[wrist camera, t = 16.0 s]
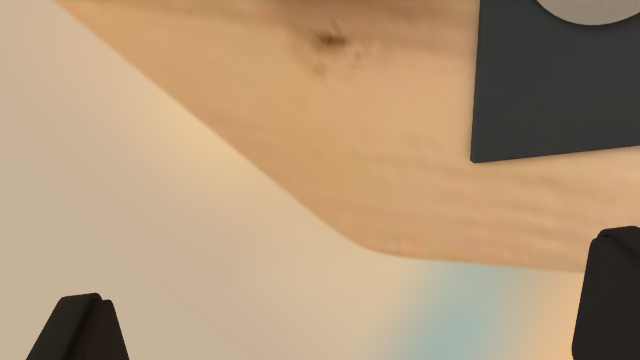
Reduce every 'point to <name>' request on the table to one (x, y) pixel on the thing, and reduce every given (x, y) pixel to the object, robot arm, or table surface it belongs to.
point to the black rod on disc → (590, 10)
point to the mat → (552, 84)
